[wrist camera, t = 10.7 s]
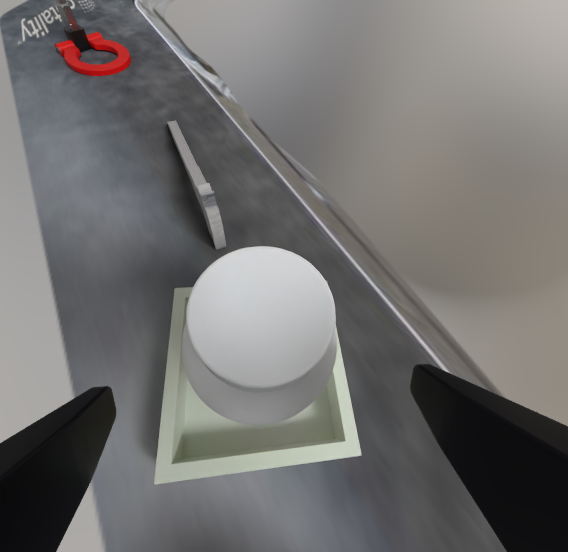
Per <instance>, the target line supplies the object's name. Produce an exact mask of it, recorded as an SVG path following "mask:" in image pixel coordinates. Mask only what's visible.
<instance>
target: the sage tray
mask: <svg viewBox="0 0 568 552" xmlns="http://www.w3.org/2000/svg"><path fill="white" fill-rule="evenodd" d="M326 283H327V281H326ZM192 288H193V287H187V288H175V290H174V299H173V309H172V318H171V328H170V337H169V347H168V356H167V366H166V375H165V385H164V394H163V404H162V413H161V423H160V432H159V441H158V451H157V460H156V470H155V479H154V485H156V484H163V483H170V482H177V481H184V480H191V479H198V478H205V477H212V476H220V475H227V474H234V473H241V472H248V471H255V470H262V469H269V468H276V467H283V466H291V465H298V464H305V463H312V462H319V461H326V460H333V459H340V458H347V457H354V456H361V450H360V445H359V440H358V435H357V430H356V425H355V420H354V415H353V410H352V405H351V400H350V395H349V390H348V385H347V380H346V375H345V370H344V365H343V360H342V355H341V350H340V345H339V340H338V335H337V330H336V335H337V354H336V360H335V365H334V368H333V371H332V373H331V376H330V379H329V381H328V382H327V384H326V386H325V388H324V389H323V390H322V392H321V393H320V395H319V396H318V397H317V398H316V399H315V400H314V401H313V402H312V403H311V404H310V405H309V406H308V407H307V408H305V409H304V410H303V411H301V412H300V413H298V414H296V415H295V416H293V417H291V418H288V419H286V420H283V421H280V422H277V423H272V424H263V425H253V424H245V423H239V422H236V421H233V420H230V419H227V418H225V417H223V416H221V415H219V414H218V413H216V412H215V411H213V410H212V409H210V408H209V407H208V406H207V405H206V404H205V403H204V402H203V401H202V400H201V399H200V398H199V397H198V395H197V394H196V393H195V391H194V390H193V388H192V386H191V384H190V382H189V380H188V378H187V376H186V373H185V369H184V365H183V360H182V348H181V346H182V336H183V331H184V327H185V324H186V309H187V304H188V300H189V296H190V293H191V291H192ZM335 329H336V325H335Z"/></svg>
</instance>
